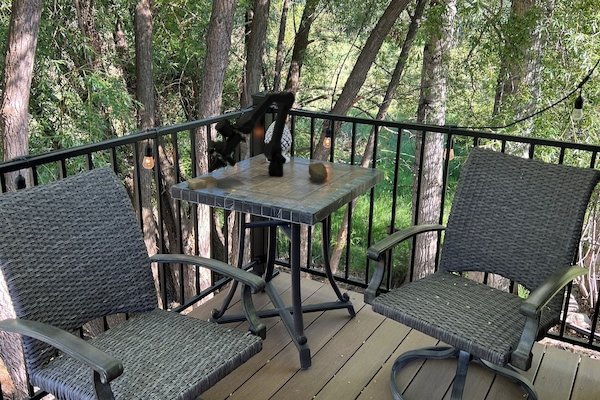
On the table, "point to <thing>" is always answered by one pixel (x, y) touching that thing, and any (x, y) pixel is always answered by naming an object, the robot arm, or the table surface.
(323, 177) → the stone
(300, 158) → the table surface
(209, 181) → the maple block
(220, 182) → the rubber mat
